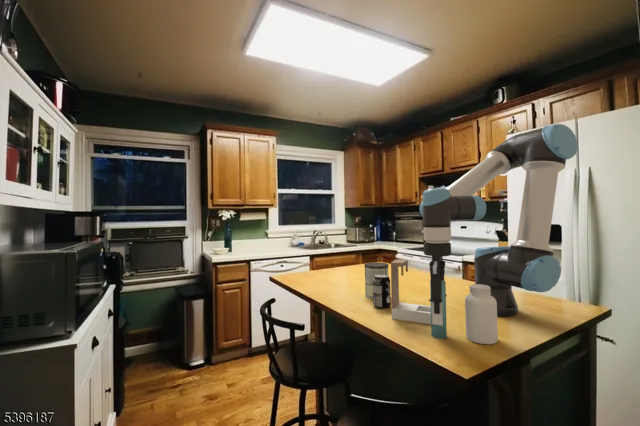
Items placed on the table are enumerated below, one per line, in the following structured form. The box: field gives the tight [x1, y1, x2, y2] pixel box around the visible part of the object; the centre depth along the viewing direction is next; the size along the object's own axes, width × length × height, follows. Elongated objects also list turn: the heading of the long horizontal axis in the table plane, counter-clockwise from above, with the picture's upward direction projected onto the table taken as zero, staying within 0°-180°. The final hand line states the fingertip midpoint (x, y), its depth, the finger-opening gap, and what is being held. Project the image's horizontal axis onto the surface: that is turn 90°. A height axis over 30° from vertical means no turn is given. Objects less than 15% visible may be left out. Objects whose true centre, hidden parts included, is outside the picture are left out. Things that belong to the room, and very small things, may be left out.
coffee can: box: [364, 261, 389, 300], centre depth 132 cm, size 10×10×14 cm
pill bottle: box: [464, 283, 499, 345], centre depth 86 cm, size 8×8×15 cm
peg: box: [429, 279, 448, 340], centre depth 88 cm, size 4×4×16 cm
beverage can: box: [372, 274, 392, 310], centre depth 117 cm, size 7×7×12 cm
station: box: [390, 258, 431, 325], centre depth 104 cm, size 14×8×19 cm, turn 62°
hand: (438, 321), depth 88 cm, fingers closed on peg, 4 cm apart
